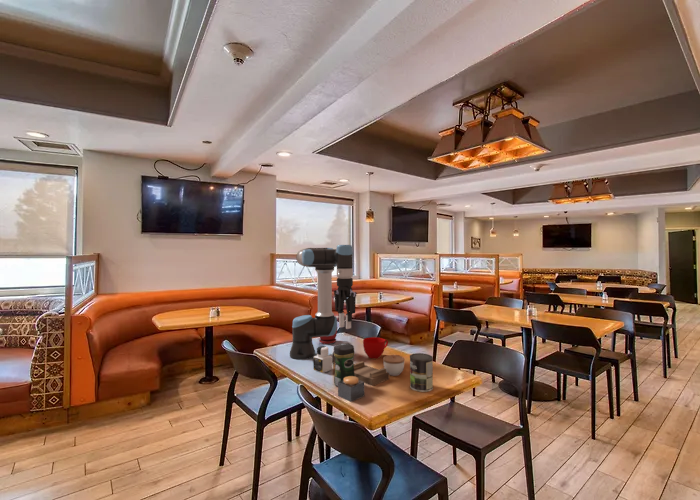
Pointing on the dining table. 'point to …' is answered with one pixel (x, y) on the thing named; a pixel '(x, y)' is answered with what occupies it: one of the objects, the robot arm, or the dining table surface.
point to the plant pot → (328, 339)
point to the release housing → (350, 390)
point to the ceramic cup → (374, 347)
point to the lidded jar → (393, 364)
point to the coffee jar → (343, 362)
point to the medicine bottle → (322, 360)
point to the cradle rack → (370, 374)
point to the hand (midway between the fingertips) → (345, 327)
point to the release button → (351, 380)
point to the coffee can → (421, 372)
